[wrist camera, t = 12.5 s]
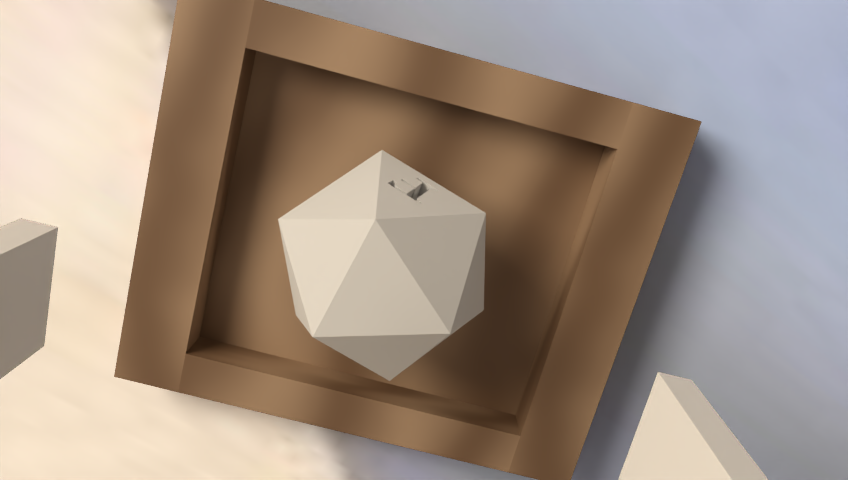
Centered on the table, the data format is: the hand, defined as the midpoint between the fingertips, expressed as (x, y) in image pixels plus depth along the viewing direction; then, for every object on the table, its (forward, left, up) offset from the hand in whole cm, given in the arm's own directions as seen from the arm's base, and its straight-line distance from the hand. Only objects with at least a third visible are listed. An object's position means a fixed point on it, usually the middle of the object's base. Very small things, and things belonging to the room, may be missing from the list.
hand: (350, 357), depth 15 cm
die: (0, +2, -18) cm, 18 cm away
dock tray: (-1, +2, -19) cm, 19 cm away
